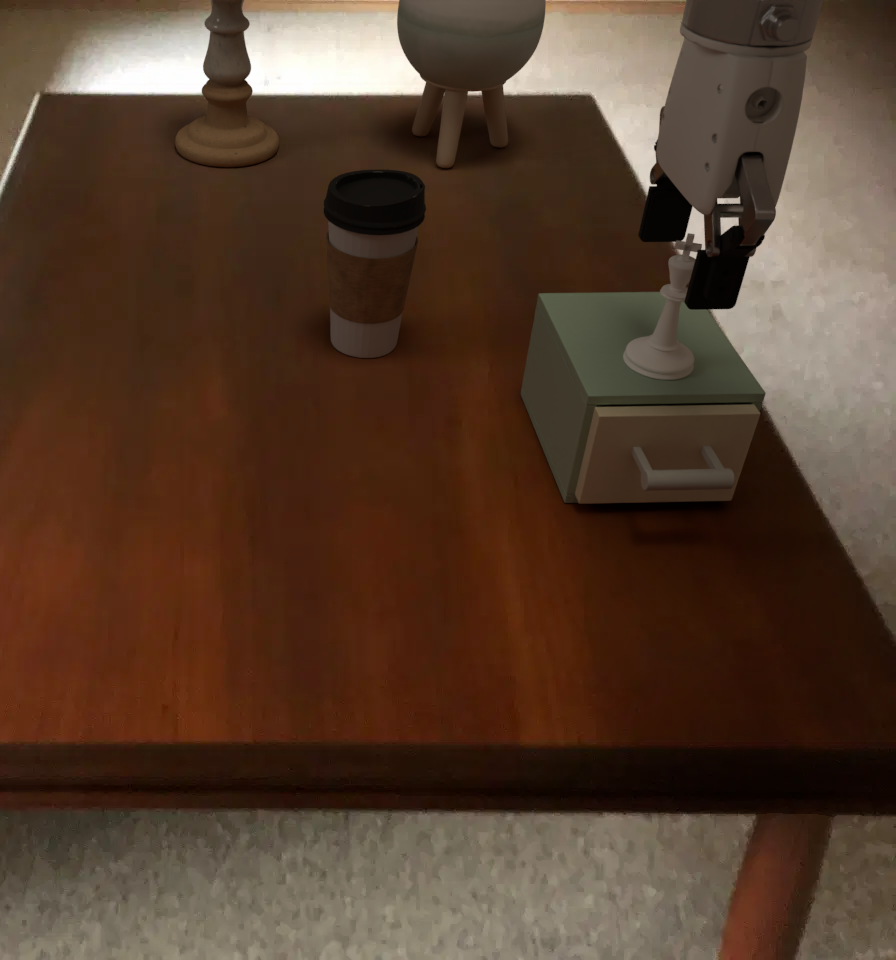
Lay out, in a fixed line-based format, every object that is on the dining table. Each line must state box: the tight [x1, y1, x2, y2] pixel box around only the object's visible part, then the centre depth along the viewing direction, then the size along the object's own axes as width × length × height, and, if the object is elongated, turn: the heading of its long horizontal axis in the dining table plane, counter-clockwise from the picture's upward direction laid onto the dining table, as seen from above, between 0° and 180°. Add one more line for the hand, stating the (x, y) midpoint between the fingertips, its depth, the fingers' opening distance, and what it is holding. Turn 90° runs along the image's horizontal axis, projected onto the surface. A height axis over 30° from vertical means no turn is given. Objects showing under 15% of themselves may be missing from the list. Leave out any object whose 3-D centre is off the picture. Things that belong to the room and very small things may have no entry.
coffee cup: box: [323, 169, 427, 359], centre depth 101 cm, size 8×8×15 cm
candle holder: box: [174, 0, 280, 168], centre depth 134 cm, size 12×12×20 cm
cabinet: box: [520, 291, 767, 504], centre depth 91 cm, size 15×13×10 cm
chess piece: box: [623, 232, 703, 380], centre depth 82 cm, size 5×5×10 cm
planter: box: [396, 0, 547, 169], centre depth 133 cm, size 16×16×22 cm
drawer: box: [575, 403, 761, 505], centre depth 88 cm, size 18×11×8 cm, turn 3°
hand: (683, 272), depth 80 cm, fingers open, 9 cm apart
